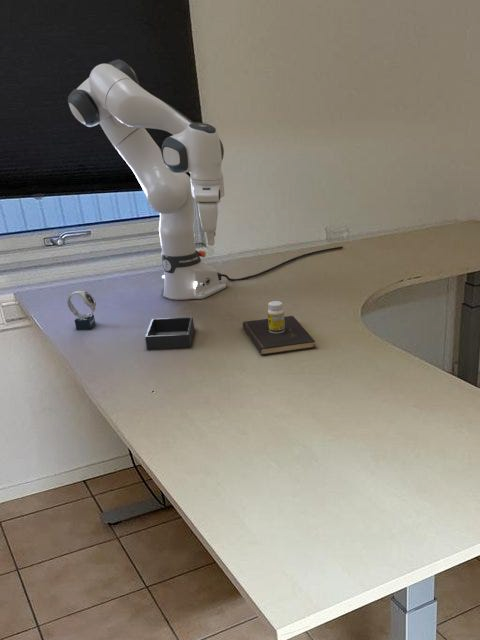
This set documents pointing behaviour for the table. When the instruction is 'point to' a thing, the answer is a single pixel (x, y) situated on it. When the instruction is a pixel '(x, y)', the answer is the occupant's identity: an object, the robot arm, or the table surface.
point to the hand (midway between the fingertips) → (212, 240)
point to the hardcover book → (278, 337)
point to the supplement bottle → (276, 317)
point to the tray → (170, 340)
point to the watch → (83, 319)
